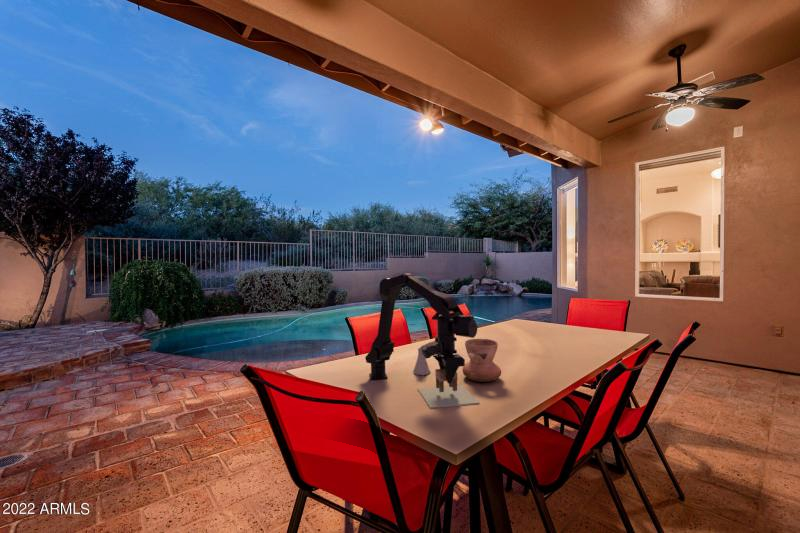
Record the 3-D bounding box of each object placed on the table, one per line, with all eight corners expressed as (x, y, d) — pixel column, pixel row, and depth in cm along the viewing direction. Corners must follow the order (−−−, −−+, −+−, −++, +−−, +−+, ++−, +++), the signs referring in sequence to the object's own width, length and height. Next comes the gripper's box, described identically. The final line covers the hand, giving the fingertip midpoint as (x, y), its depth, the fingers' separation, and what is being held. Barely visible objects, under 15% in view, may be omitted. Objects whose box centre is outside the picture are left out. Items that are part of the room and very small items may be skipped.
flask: (429, 376, 133) (429, 351, 133) (411, 375, 135) (411, 350, 135) (431, 370, 140) (431, 346, 140) (414, 369, 142) (414, 346, 142)
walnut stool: (452, 385, 115) (452, 368, 115) (457, 390, 110) (457, 372, 110) (435, 386, 114) (435, 369, 114) (440, 392, 109) (439, 373, 109)
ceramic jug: (488, 389, 118) (488, 349, 118) (453, 380, 128) (453, 343, 128) (510, 376, 131) (509, 340, 131) (476, 369, 141) (476, 335, 141)
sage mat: (417, 389, 119) (417, 388, 119) (461, 386, 122) (460, 384, 122) (430, 408, 103) (430, 407, 103) (479, 403, 106) (479, 402, 106)
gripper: (415, 329, 120) (416, 373, 120) (430, 341, 102) (430, 392, 102) (445, 328, 122) (446, 371, 122) (465, 339, 104) (465, 389, 104)
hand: (446, 380), depth 112 cm, fingers closed on walnut stool, 5 cm apart
